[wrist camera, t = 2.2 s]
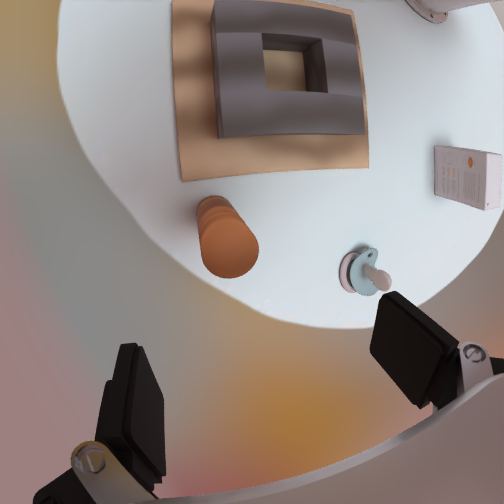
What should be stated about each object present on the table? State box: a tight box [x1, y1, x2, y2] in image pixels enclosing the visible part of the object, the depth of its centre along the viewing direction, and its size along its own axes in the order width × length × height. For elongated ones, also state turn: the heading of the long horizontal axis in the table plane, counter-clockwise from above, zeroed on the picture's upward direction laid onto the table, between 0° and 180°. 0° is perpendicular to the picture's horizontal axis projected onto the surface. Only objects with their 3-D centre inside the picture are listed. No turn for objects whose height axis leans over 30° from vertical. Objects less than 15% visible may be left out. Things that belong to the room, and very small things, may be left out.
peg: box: [197, 196, 259, 278], centre depth 25 cm, size 4×4×12 cm
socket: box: [172, 0, 369, 182], centre depth 23 cm, size 22×22×6 cm
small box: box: [434, 146, 502, 210], centre depth 30 cm, size 8×6×10 cm
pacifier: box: [340, 248, 392, 296], centre depth 34 cm, size 7×6×6 cm
